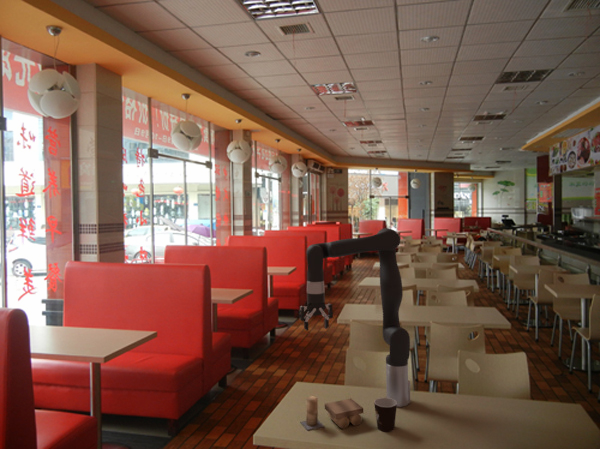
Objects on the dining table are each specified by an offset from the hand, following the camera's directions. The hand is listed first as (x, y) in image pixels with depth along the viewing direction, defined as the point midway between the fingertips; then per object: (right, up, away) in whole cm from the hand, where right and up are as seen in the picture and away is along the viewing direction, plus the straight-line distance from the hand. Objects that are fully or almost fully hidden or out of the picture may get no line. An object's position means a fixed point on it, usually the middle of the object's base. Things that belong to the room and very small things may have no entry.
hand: (316, 329), depth 198 cm
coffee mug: (+26, -34, -18) cm, 46 cm away
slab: (+10, -34, -14) cm, 38 cm away
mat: (-2, -34, -16) cm, 38 cm away
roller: (-2, -33, -16) cm, 37 cm away
